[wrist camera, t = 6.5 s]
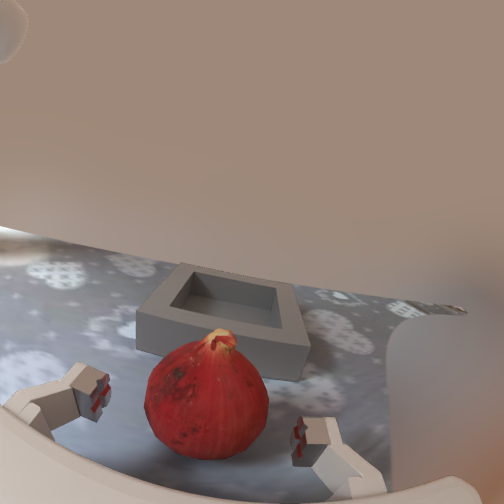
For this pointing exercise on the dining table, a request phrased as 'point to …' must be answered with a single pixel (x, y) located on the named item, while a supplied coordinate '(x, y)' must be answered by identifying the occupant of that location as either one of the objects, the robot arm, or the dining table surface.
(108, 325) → the dining table surface
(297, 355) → the holder
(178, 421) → the red round fruit
